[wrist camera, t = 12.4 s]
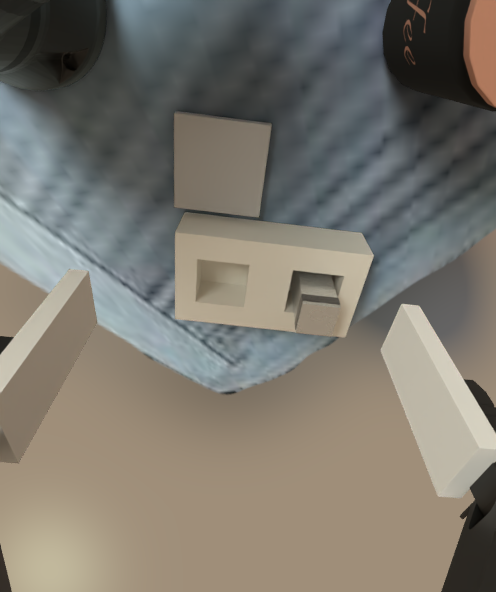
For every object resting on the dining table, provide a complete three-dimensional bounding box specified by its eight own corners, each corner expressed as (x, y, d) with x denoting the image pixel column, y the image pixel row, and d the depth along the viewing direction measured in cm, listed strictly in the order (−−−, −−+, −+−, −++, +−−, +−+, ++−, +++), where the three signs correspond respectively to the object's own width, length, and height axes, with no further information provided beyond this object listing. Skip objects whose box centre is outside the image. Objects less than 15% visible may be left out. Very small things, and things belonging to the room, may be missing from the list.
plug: (289, 284, 48) (295, 333, 40) (295, 257, 46) (302, 303, 38) (320, 288, 49) (331, 336, 40) (327, 261, 46) (341, 307, 38)
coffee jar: (439, -88, 29) (622, -231, 14) (528, -5, 32) (762, -53, 17) (355, 51, 35) (425, 53, 20) (437, 112, 37) (554, 153, 22)
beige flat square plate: (176, 202, 44) (174, 207, 42) (176, 111, 38) (173, 113, 37) (259, 212, 44) (258, 217, 43) (271, 123, 38) (271, 125, 37)
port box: (183, 294, 51) (175, 320, 46) (184, 211, 44) (175, 232, 39) (336, 311, 52) (344, 339, 47) (361, 232, 45) (373, 255, 40)
